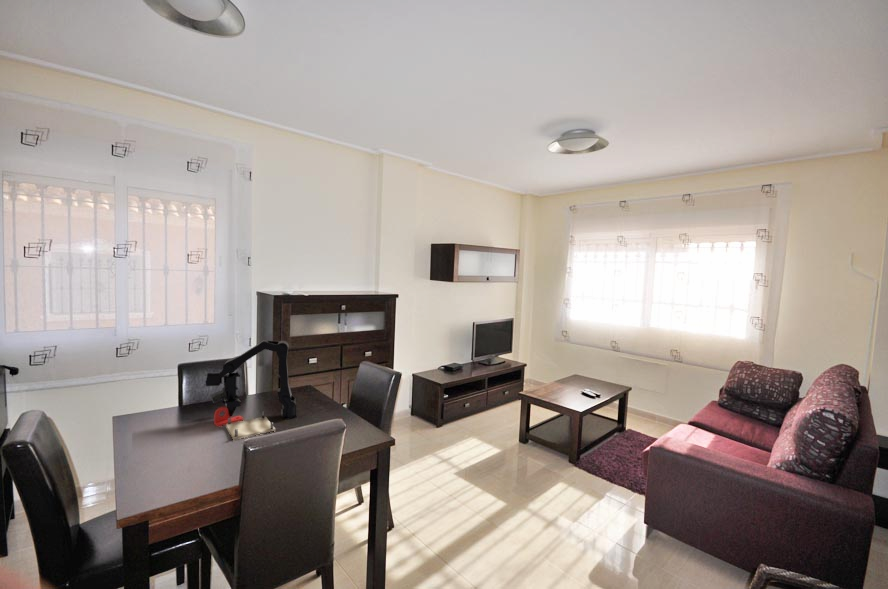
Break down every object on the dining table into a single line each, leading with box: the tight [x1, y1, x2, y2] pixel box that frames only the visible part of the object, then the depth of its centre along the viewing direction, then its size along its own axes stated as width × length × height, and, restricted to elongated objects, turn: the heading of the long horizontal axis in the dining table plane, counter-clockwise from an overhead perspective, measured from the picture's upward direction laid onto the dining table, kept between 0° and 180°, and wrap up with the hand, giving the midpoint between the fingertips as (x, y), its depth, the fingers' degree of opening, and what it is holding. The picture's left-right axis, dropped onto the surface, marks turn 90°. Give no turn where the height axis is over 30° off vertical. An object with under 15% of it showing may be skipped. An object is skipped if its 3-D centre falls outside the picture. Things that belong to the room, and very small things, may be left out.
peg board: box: [225, 411, 276, 441], centre depth 189 cm, size 18×18×4 cm
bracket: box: [213, 406, 244, 428], centre depth 195 cm, size 12×4×8 cm, turn 139°
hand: (230, 415), depth 197 cm, fingers closed on bracket
